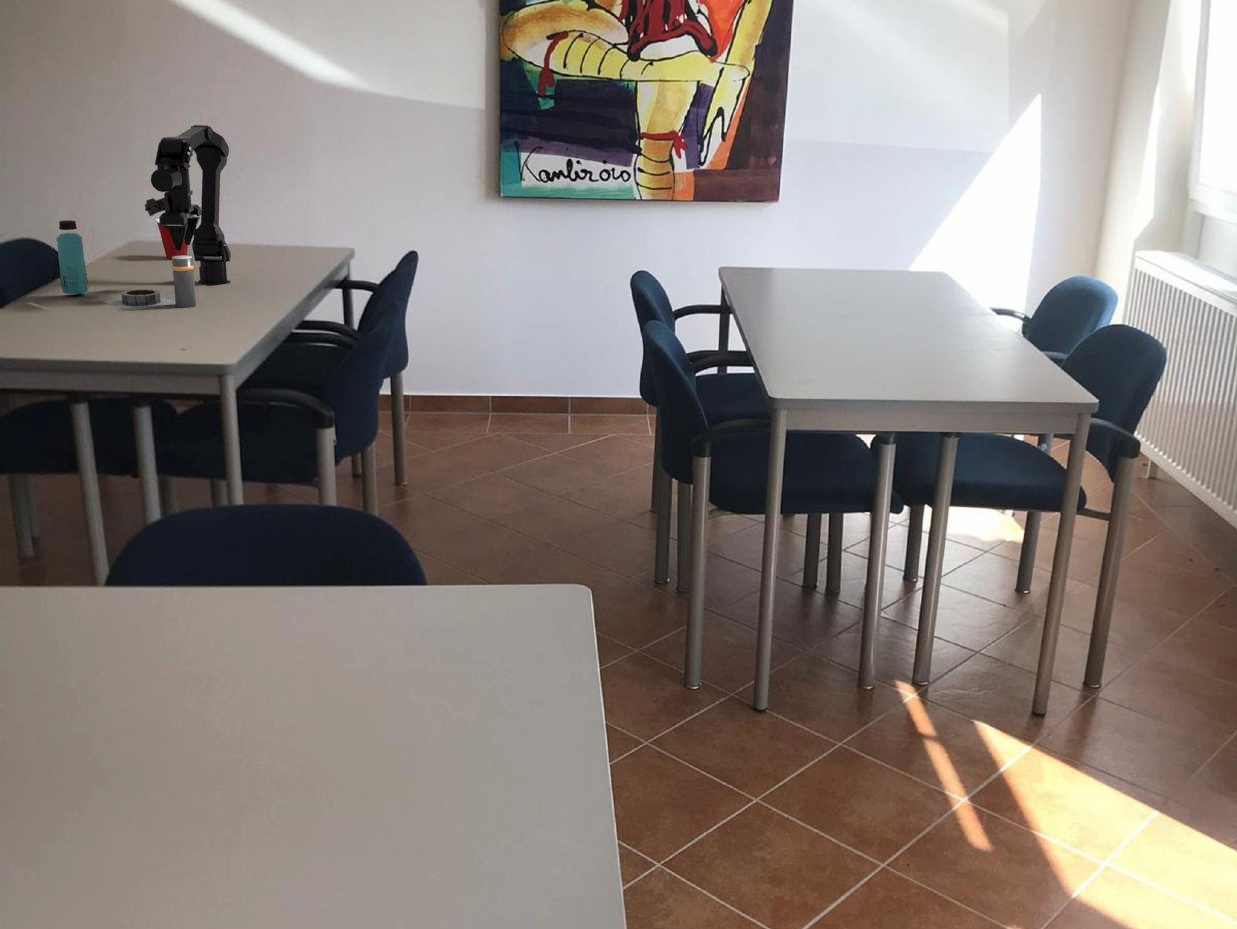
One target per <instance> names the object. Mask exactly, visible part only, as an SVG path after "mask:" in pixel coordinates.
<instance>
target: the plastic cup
mask: <svg viewBox="0 0 1237 929" xmlns="http://www.w3.org/2000/svg"><path fill="white" fill-rule="evenodd" d="M155 223H157V227H158V230H159V234H160V238H161V242H162V245H163V246H162V248H163V249H164V253H165V256H166V259H167V260H171V261H172V257H174V256H188V248H189V245H186V244H185V240H184V242H183V245H182V249H181V251H177V250H176V248H175V245H174V242H173V239H172V237H171V234H170V232H169V231H168V230H167V229H166V228H165V227H162V225H161V224H160V221H159V217H158V218H155Z"/></svg>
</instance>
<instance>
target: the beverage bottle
mask: <svg viewBox="0 0 1237 929" xmlns="http://www.w3.org/2000/svg"><path fill="white" fill-rule="evenodd" d="M58 224H59V226H58V228H59V230H62V231H73V230H77V223H76V221H75V220H72V219H71V220H70V219H69V220H68V219H66V220H59V223H58ZM56 243H57V244H56V246H57V253H58V263H59V273H60V275H59V277H60V279H59V280H60V284H61V285H60V286H61V290H62V292H63V293H64V294H66V295H78V294H86V293H88V290H89V282H88V274H87V268H86V260H85V254H84V244H83V237H82V236H81V234H78V233H75V232H66V233H65V232H64V233H63V232H62V233H60V234H59V235H58V236H57V237H56Z"/></svg>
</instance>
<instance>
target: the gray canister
mask: <svg viewBox="0 0 1237 929" xmlns="http://www.w3.org/2000/svg"><path fill="white" fill-rule="evenodd" d="M171 264H172V265H171V268H172V269H171V270H172V277H173V289H174V301H175V304H174V305H175V308H178V309H179V308H180V309H189V308H194V307H197V298H196V287H195V285H196V284H195V283H196V282H195V272H194V270H195V269H194V268H195V267H194V266H195V265H194V259H193V256H192V255H187V256H174V257H172V260H171Z"/></svg>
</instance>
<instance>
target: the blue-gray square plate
mask: <svg viewBox="0 0 1237 929" xmlns="http://www.w3.org/2000/svg"><path fill="white" fill-rule="evenodd" d="M160 300H161V302H160V303H158V304H154V305H146V306H130V305H125V304H122V298H118V299H111V300H104V301H102V303H105V304H108V305H111V306H114V307H117V308H121V309H125V310H129V311H135V310H141V309H150V308H155V307H163V306H170V305H176V304H175V300H173V299H168V298H165V297H163V296H160Z"/></svg>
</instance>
